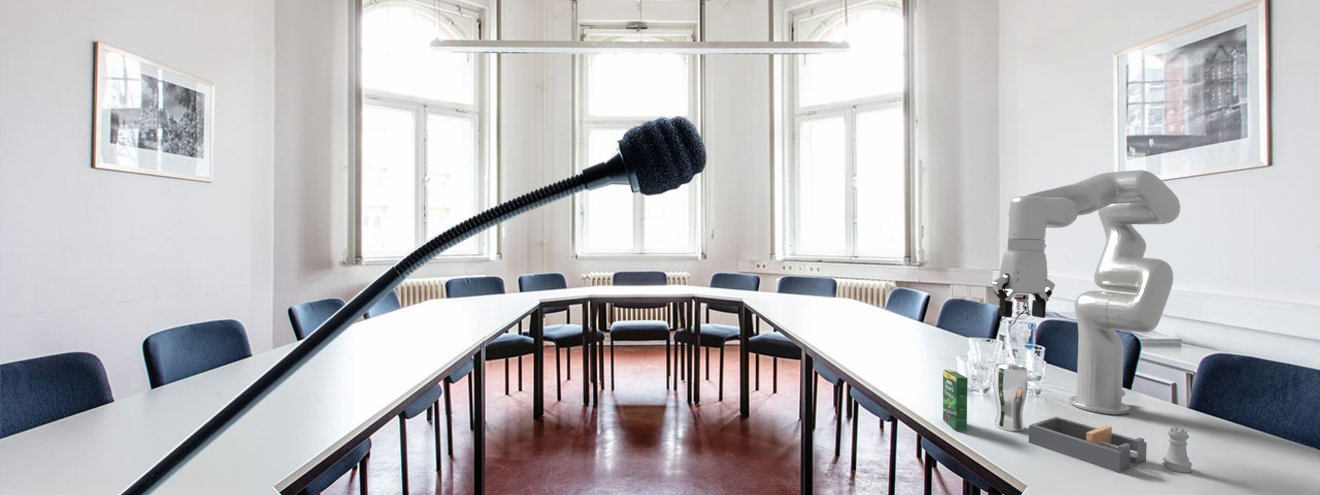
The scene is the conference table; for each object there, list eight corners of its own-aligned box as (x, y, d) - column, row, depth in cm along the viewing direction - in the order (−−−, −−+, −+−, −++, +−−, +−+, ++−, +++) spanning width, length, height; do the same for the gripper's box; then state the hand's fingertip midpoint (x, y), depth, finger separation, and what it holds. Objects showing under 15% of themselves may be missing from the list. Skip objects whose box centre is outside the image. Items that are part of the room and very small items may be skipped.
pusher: (1105, 447, 118) (1106, 425, 118) (1145, 460, 112) (1146, 436, 111) (1085, 455, 114) (1086, 432, 114) (1126, 468, 108) (1127, 444, 107)
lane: (1055, 433, 128) (1056, 412, 128) (1146, 461, 113) (1146, 437, 113) (1028, 442, 123) (1029, 420, 122) (1119, 472, 108) (1120, 448, 107)
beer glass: (1031, 433, 128) (1033, 371, 127) (999, 431, 129) (1001, 369, 128) (1018, 422, 135) (1020, 363, 134) (988, 420, 136) (989, 362, 135)
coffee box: (941, 419, 137) (942, 368, 137) (953, 419, 137) (954, 369, 136) (954, 431, 129) (956, 377, 129) (967, 431, 129) (968, 378, 128)
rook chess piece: (1155, 464, 111) (1157, 426, 111) (1175, 463, 112) (1177, 425, 111) (1178, 474, 107) (1179, 434, 107) (1198, 473, 107) (1200, 433, 107)
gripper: (1041, 247, 136) (1037, 314, 137) (983, 245, 132) (979, 314, 133) (1069, 248, 129) (1065, 319, 129) (1009, 246, 125) (1005, 319, 126)
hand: (1021, 316), depth 131 cm, fingers open, 9 cm apart
